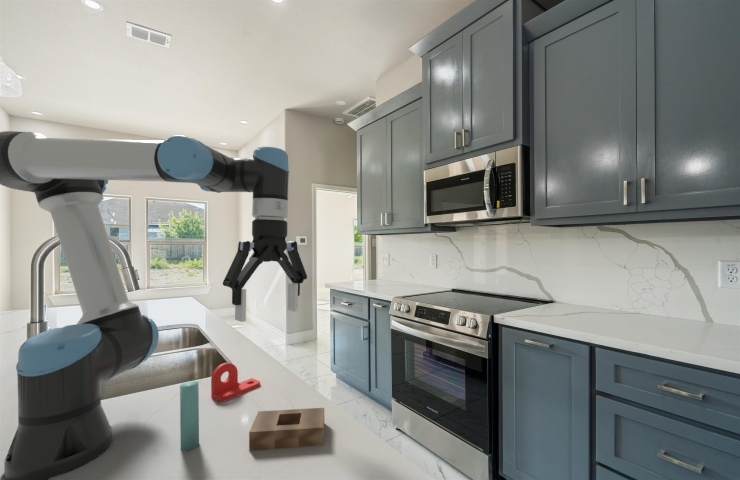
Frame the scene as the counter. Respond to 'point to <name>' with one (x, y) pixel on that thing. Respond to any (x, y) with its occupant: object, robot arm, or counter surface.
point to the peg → (189, 415)
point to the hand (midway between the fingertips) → (268, 315)
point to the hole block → (287, 429)
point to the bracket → (229, 383)
